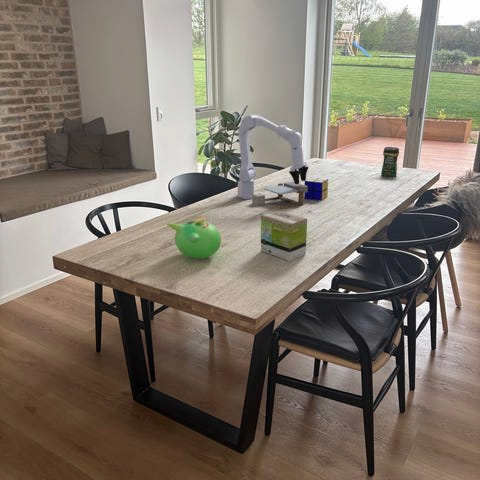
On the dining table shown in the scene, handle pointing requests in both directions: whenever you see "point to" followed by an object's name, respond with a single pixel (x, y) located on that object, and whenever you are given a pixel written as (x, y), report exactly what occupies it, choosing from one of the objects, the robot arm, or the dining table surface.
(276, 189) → the trapdoor
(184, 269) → the dining table surface
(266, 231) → the tea box
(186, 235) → the toy bird
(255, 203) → the grey cube
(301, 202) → the frame
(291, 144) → the robot arm
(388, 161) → the coffee jar
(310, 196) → the puzzle cube
